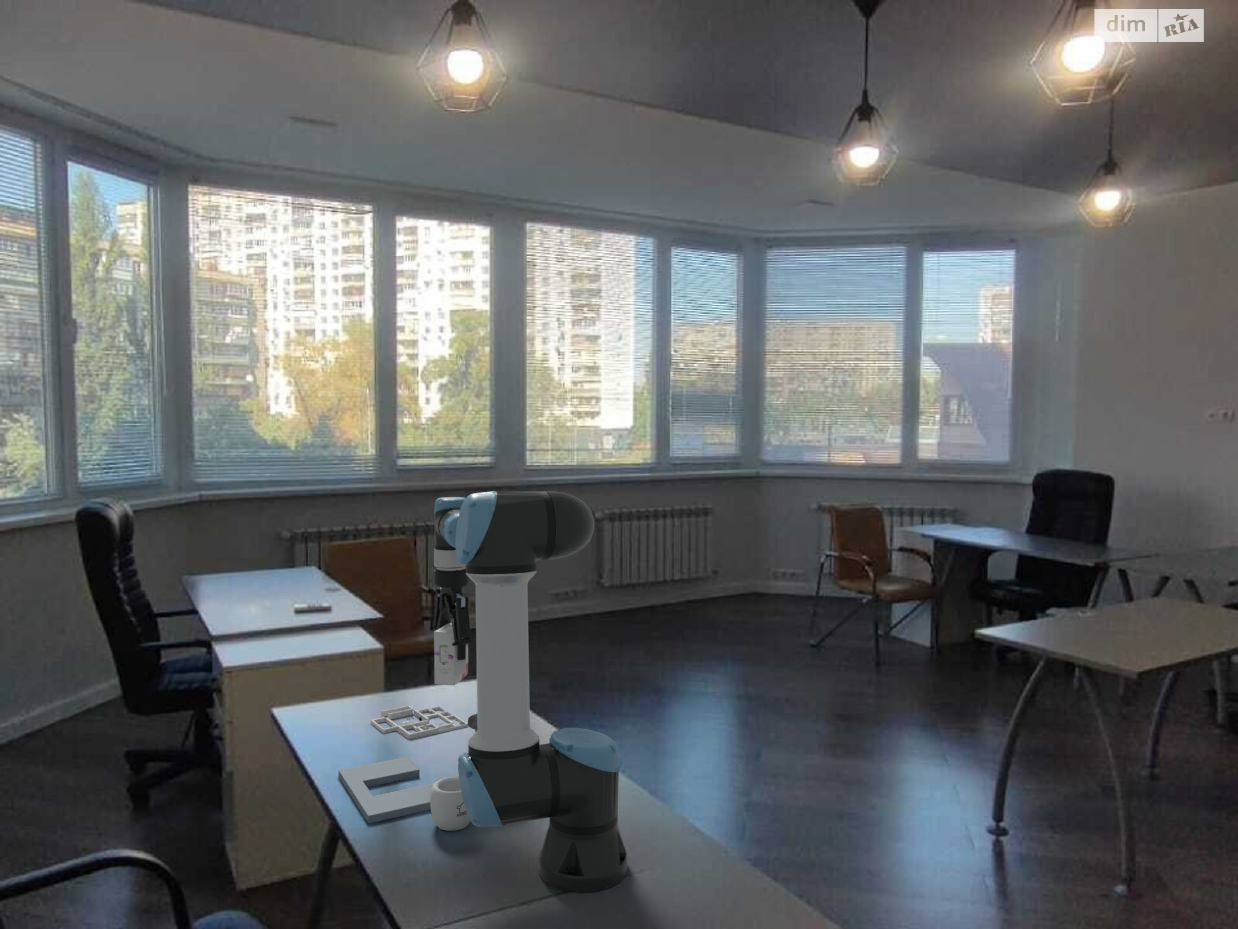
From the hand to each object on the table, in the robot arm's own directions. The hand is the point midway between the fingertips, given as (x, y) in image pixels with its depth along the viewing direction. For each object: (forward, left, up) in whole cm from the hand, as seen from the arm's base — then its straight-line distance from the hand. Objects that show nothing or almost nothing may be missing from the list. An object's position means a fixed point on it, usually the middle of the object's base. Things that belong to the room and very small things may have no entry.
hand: (451, 668), depth 190 cm
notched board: (-8, +16, -21) cm, 28 cm away
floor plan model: (+27, +2, -22) cm, 34 cm away
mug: (-28, +8, -21) cm, 36 cm away
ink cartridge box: (0, 0, -3) cm, 3 cm away
